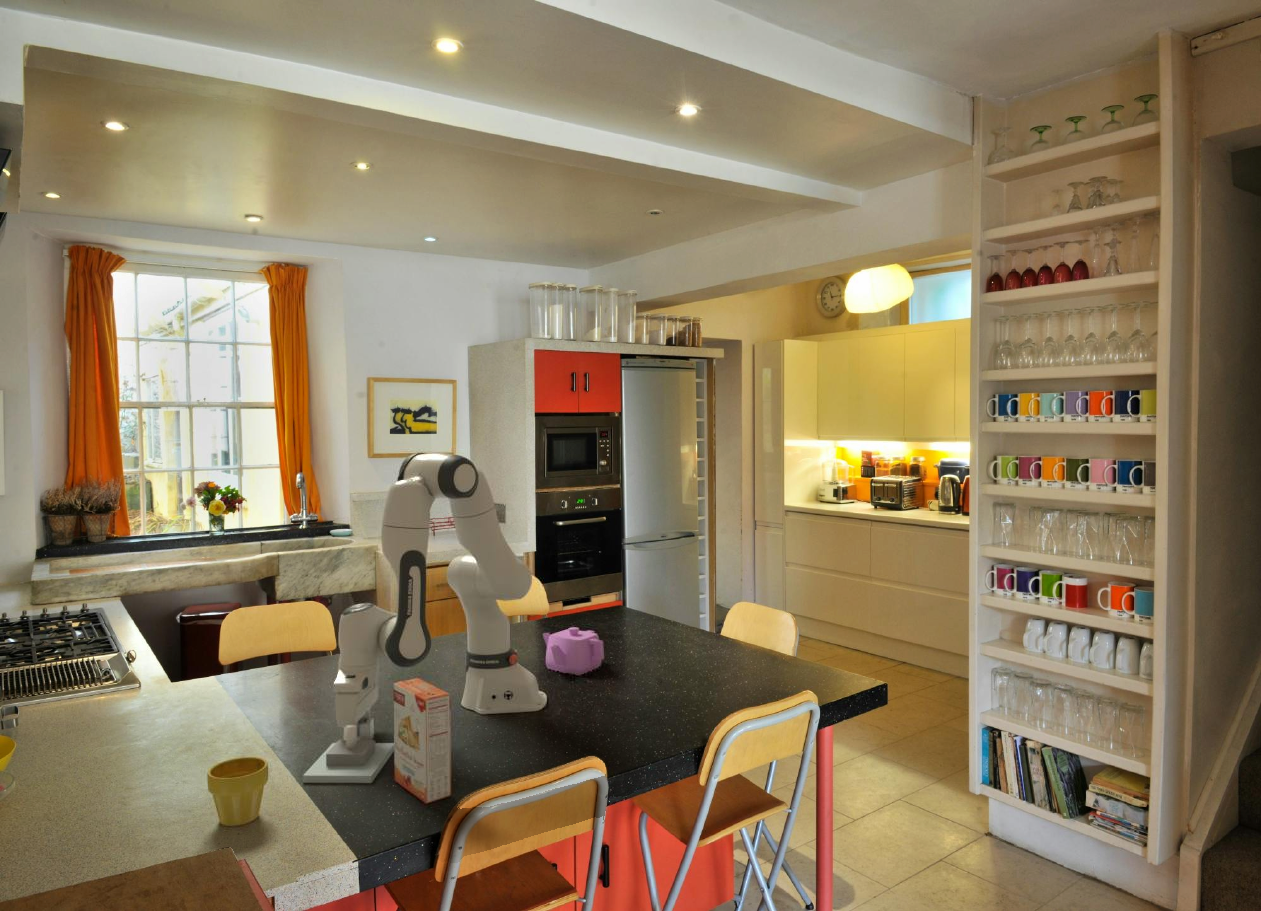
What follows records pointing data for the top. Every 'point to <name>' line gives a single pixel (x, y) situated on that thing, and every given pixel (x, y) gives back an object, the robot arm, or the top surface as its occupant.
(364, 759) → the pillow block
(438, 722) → the cracker box
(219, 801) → the plant pot
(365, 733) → the ring
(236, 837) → the top surface
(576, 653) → the teakettle
